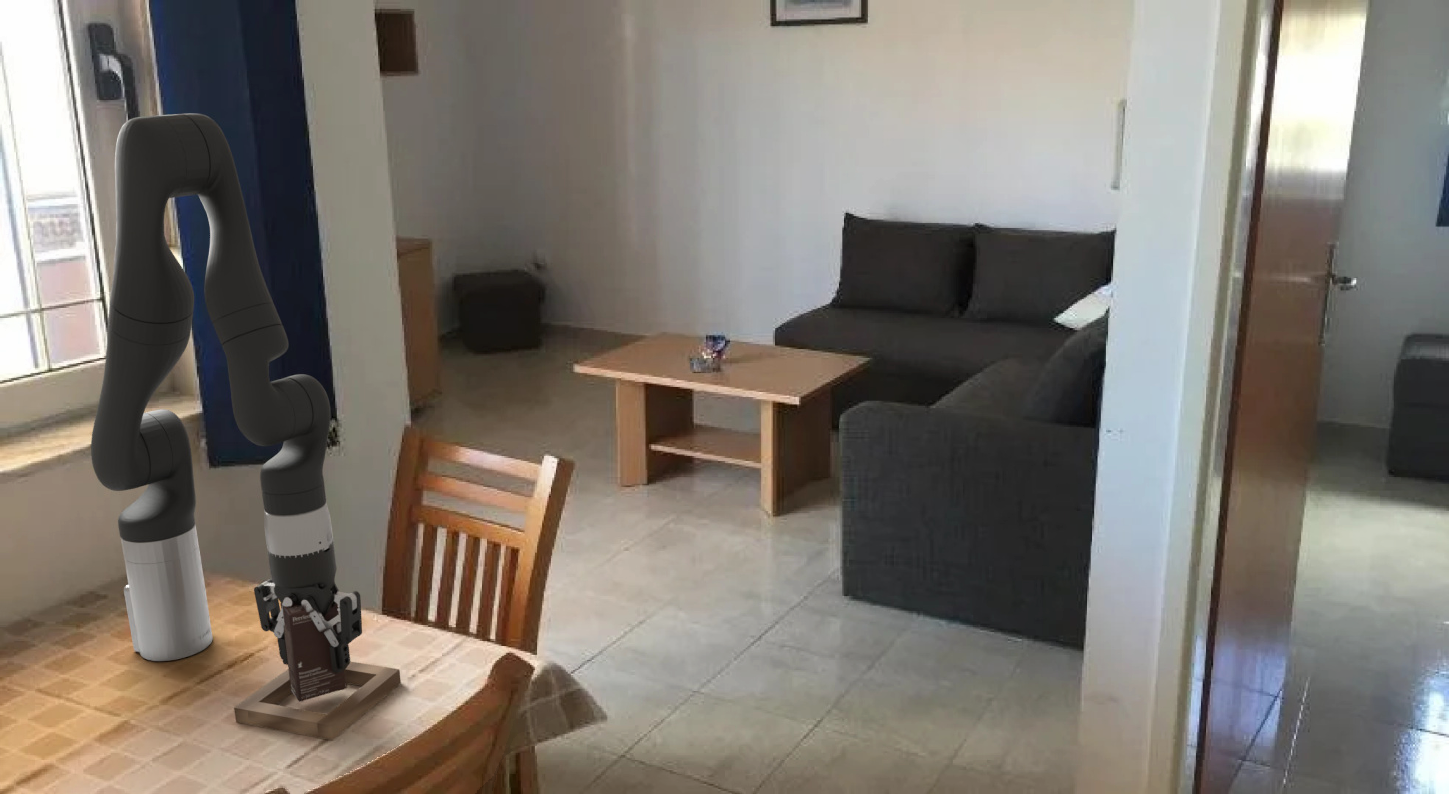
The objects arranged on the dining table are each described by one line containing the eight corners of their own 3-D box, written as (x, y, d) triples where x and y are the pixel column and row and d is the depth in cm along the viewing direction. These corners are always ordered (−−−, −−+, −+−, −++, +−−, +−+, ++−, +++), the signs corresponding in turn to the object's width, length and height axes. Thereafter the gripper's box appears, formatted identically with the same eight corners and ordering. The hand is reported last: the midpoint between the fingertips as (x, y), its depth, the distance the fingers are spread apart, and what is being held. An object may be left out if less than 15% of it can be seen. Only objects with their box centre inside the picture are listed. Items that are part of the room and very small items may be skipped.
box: (300, 704, 144) (287, 614, 140) (290, 689, 147) (278, 601, 144) (349, 690, 147) (338, 601, 144) (339, 675, 150) (328, 588, 147)
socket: (235, 722, 143) (233, 707, 143) (309, 668, 156) (308, 654, 156) (332, 740, 139) (331, 725, 138) (400, 683, 152) (399, 669, 151)
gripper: (229, 546, 141) (247, 672, 145) (330, 559, 136) (346, 689, 140) (271, 524, 147) (287, 645, 152) (369, 535, 143) (383, 660, 147)
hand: (316, 665), depth 146 cm, fingers closed on box, 6 cm apart
